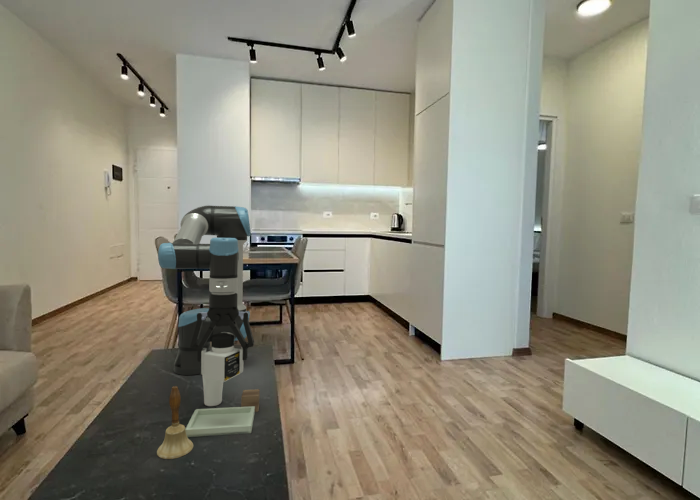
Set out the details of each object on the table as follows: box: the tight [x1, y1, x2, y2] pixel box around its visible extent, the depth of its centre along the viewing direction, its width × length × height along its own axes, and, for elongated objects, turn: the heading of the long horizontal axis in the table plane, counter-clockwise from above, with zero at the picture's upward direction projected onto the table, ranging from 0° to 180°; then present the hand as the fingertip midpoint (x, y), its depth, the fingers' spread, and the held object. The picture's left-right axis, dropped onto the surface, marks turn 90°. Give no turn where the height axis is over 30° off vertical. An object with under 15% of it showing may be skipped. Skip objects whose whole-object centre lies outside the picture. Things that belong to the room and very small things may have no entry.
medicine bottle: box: [204, 332, 241, 383], centre depth 106 cm, size 7×7×12 cm
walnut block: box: [240, 388, 261, 413], centre depth 117 cm, size 5×5×5 cm
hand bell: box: [156, 385, 194, 460], centre depth 94 cm, size 8×8×16 cm
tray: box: [185, 406, 256, 438], centre depth 107 cm, size 12×17×2 cm
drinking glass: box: [201, 374, 224, 407], centre depth 120 cm, size 7×7×15 cm
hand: (222, 371), depth 107 cm, fingers closed on medicine bottle, 9 cm apart
